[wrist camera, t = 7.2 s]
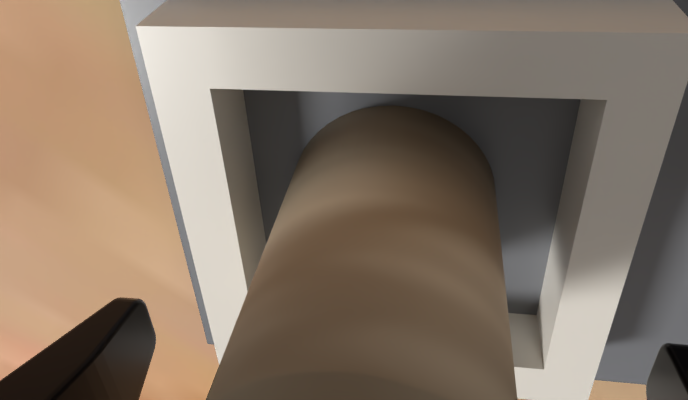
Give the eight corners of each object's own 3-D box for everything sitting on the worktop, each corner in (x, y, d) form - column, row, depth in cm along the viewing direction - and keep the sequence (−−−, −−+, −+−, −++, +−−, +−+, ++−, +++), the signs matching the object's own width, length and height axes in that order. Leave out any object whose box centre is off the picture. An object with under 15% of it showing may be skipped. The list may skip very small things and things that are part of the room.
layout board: (1222, -93, 8) (1671, -6, 5) (876, 378, 14) (992, 548, 11) (124, -77, 11) (-11, -11, 8) (217, 321, 16) (162, 448, 13)
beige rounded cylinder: (506, 108, 11) (552, 389, 6) (485, 276, 13) (505, 578, 8) (285, 102, 11) (159, 355, 6) (302, 265, 14) (220, 541, 9)
